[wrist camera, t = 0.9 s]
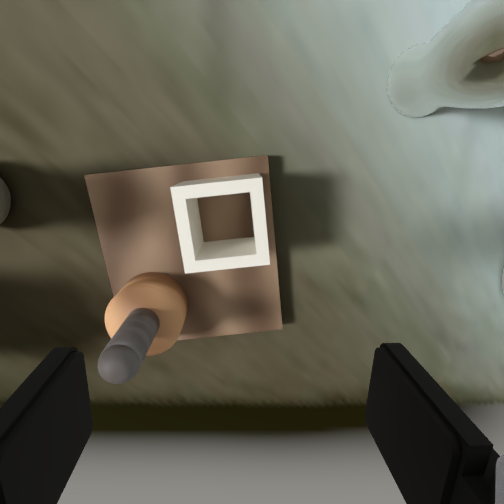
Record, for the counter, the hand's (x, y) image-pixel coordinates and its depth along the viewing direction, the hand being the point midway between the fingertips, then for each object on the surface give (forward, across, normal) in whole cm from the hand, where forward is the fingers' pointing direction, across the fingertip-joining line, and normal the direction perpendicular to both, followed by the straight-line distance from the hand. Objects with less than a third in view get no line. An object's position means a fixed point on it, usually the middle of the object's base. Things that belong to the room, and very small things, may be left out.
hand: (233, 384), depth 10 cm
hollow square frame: (+22, 0, -1) cm, 23 cm away
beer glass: (+24, -17, -14) cm, 32 cm away
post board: (+24, +4, +3) cm, 25 cm away
